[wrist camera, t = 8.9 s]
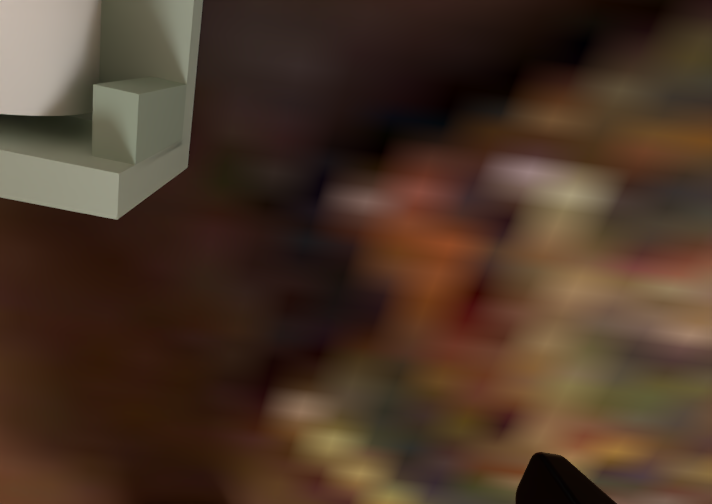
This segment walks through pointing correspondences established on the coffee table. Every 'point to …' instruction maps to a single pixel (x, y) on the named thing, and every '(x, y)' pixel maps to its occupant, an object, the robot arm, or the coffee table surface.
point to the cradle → (114, 118)
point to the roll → (49, 56)
